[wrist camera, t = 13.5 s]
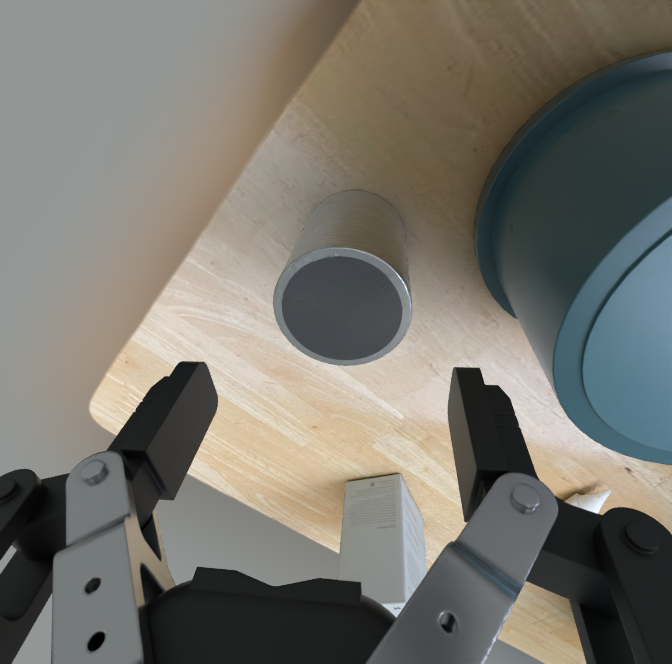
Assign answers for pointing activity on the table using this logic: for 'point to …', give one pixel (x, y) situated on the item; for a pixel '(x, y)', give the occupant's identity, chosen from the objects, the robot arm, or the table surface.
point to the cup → (346, 282)
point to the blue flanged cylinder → (593, 250)
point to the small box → (382, 541)
